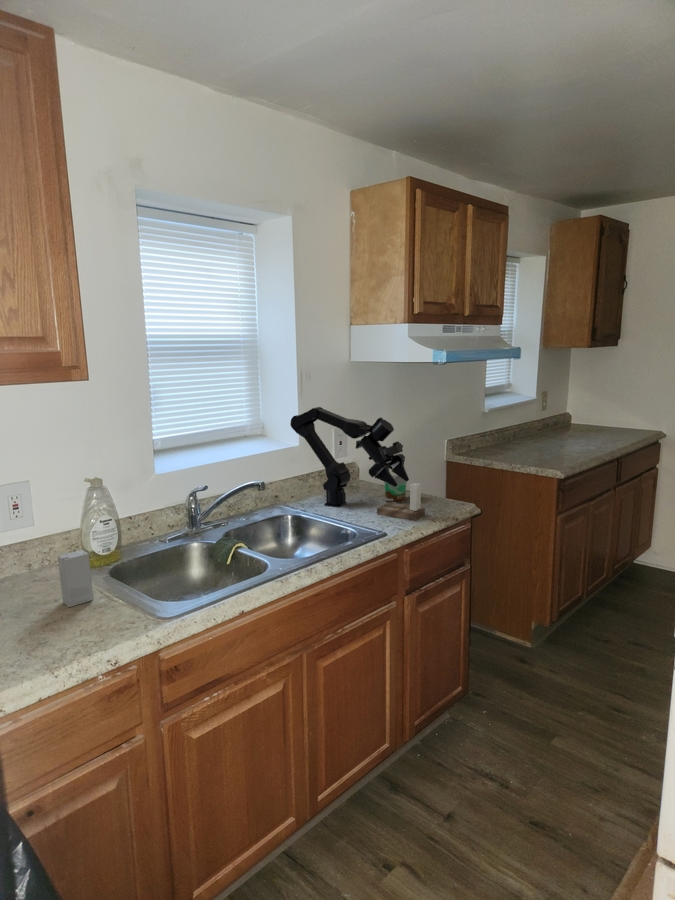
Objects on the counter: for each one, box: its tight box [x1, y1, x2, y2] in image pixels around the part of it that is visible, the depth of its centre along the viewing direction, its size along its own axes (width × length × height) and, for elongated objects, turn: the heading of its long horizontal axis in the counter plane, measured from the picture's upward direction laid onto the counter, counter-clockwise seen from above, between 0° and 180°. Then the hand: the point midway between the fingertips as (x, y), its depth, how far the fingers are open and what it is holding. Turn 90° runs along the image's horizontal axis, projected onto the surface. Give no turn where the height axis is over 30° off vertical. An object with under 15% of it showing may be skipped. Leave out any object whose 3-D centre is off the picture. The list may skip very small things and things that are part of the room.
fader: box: [409, 482, 422, 511], centre depth 207 cm, size 2×4×9 cm
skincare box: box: [57, 549, 94, 608], centre depth 142 cm, size 6×4×12 cm
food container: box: [383, 474, 408, 503], centre depth 229 cm, size 12×6×10 cm, turn 143°
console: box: [376, 502, 426, 522], centre depth 211 cm, size 15×8×3 cm, turn 58°
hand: (402, 483), depth 209 cm, fingers open, 9 cm apart
